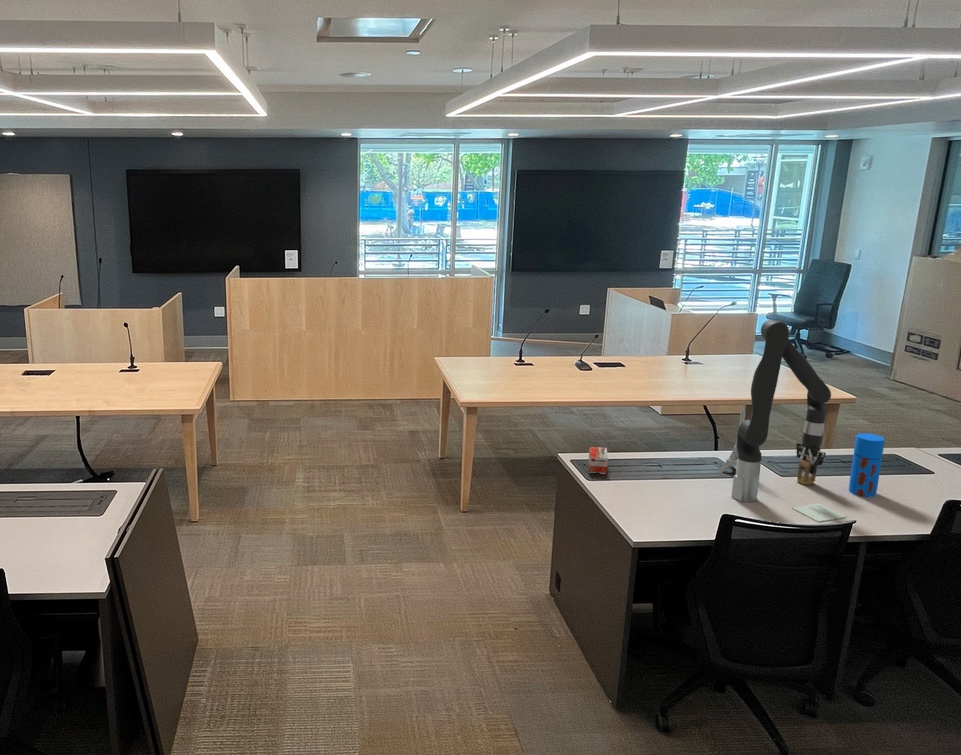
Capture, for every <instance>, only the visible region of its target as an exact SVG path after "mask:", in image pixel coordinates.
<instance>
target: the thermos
mask: <svg viewBox="0 0 961 755" xmlns="http://www.w3.org/2000/svg"><path fill="white" fill-rule="evenodd" d="M884 447H885V438H884V437H883V436H881V435H878V434H874V433H868V432H867V433H858V434H856V436H855V442H854V449H853V455H852V462H851V470H850V474H849V475H850V476H849V484H848V491H849V493H850V494H852V495H854V496H857V497H861V498H873V497H876V495H877V491H878V486H879V485H878V484H879V480H880V474H881V473H880V472H881V467H882V460H883V459H882V458H883V453H884Z"/></svg>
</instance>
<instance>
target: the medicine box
mask: <svg viewBox="0 0 961 755" xmlns="http://www.w3.org/2000/svg"><path fill="white" fill-rule="evenodd" d="M608 458H609V457H608V449H607V447H597V446H590V447H589V452H588V472H589V471H591V472H602V473H603V472H604V473H607V472H608V461H609V459H608Z"/></svg>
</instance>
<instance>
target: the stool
mask: <svg viewBox="0 0 961 755" xmlns="http://www.w3.org/2000/svg"><path fill="white" fill-rule="evenodd" d="M798 460H799V462H798V469H797V471H798V472H797V476H796V477H797V478H798V479H801V475H802V468H805V469H806V470H805V476H804V482H808V477H809V470H810V469H811V460H810V459H804V460H800V459H798ZM814 462H815V461H814ZM818 467H819V465H818V466H817V468H816V473H815V474H812V479H811V481H814V482H816V476H817V470H818Z"/></svg>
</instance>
